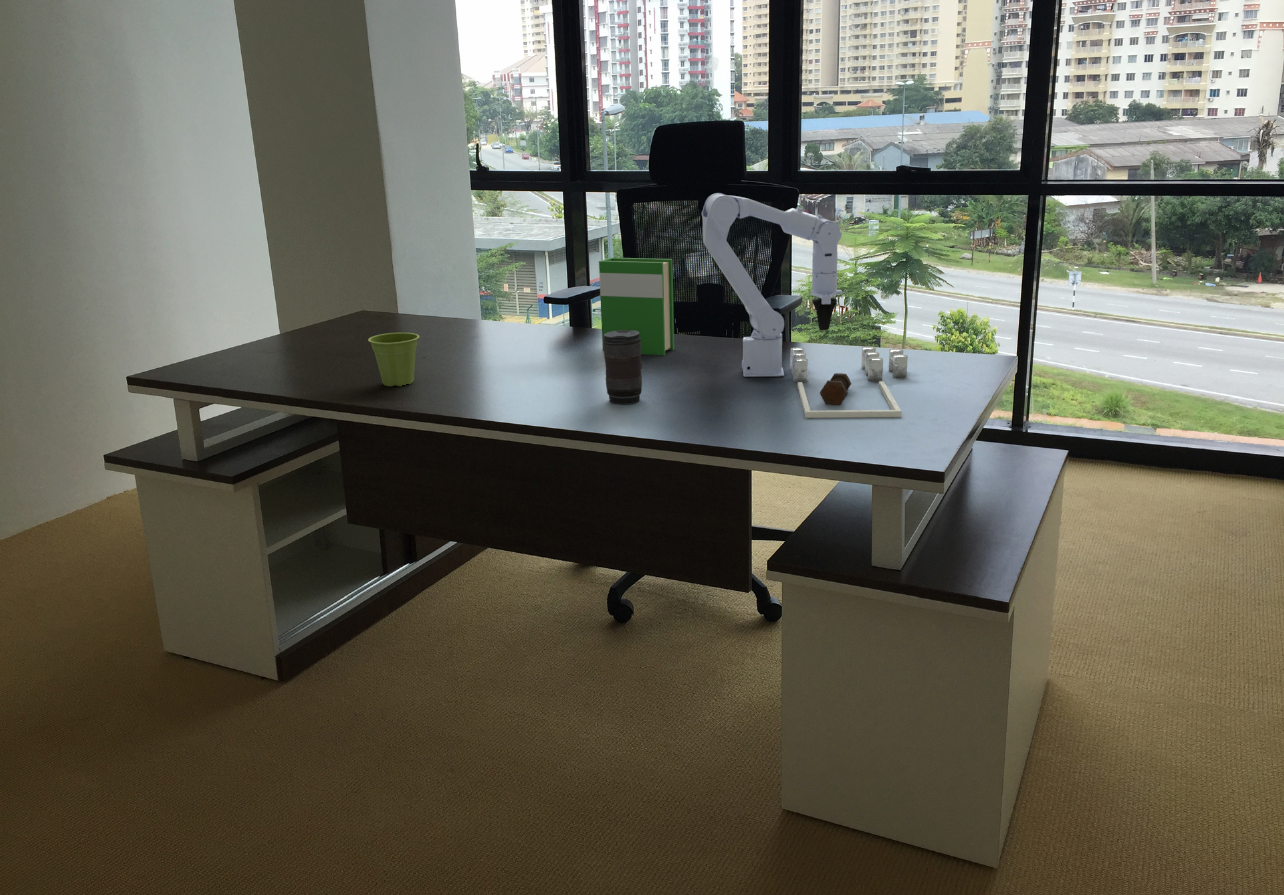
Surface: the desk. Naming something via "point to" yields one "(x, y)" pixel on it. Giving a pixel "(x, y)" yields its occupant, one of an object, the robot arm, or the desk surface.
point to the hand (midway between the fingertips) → (823, 329)
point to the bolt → (835, 389)
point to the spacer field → (869, 364)
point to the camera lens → (623, 366)
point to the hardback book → (638, 300)
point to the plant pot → (395, 357)
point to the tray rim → (852, 413)
